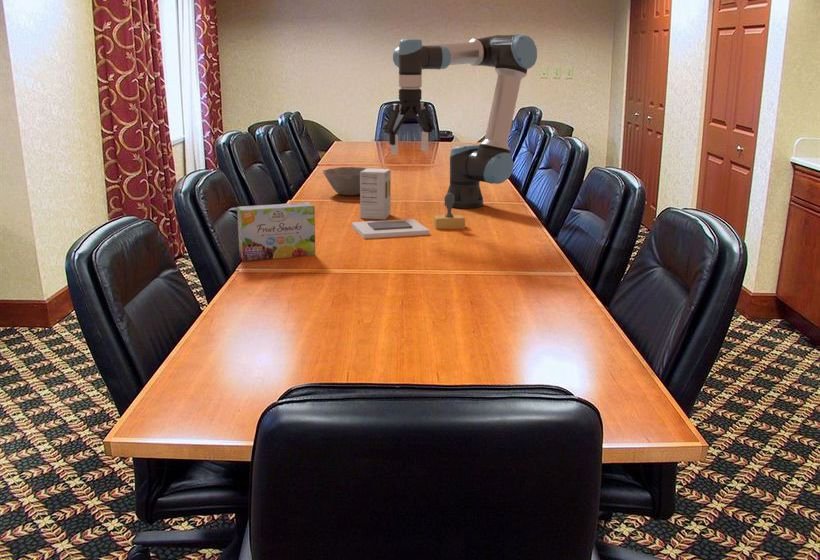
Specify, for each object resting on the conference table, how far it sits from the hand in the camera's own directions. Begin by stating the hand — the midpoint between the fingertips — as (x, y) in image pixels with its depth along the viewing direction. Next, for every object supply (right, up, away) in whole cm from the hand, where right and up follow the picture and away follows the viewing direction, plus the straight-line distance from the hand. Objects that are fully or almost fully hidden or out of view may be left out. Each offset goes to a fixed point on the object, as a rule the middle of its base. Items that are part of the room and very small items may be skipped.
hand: (409, 153), depth 254 cm
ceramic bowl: (-25, -7, +60) cm, 66 cm away
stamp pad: (-7, -26, -4) cm, 28 cm away
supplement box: (-12, -20, +18) cm, 30 cm away
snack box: (-38, -36, -37) cm, 64 cm away
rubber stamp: (+13, -25, +2) cm, 29 cm away
